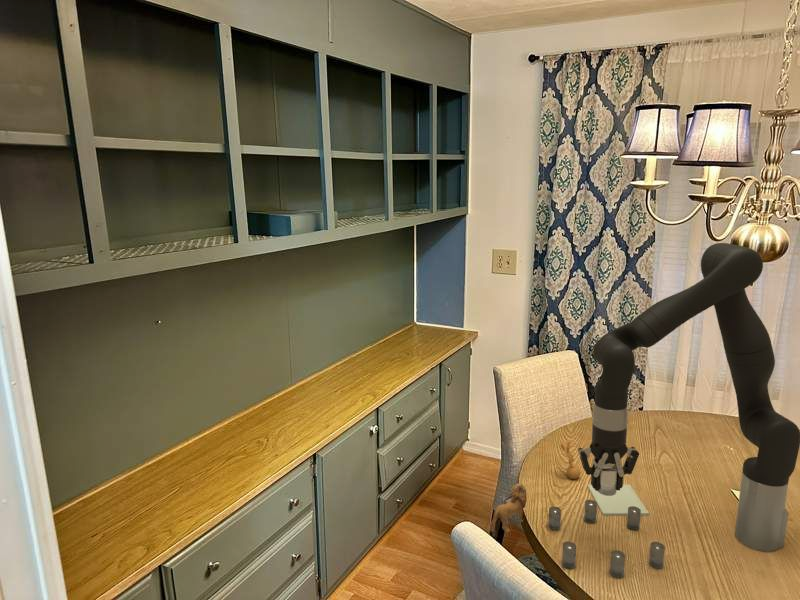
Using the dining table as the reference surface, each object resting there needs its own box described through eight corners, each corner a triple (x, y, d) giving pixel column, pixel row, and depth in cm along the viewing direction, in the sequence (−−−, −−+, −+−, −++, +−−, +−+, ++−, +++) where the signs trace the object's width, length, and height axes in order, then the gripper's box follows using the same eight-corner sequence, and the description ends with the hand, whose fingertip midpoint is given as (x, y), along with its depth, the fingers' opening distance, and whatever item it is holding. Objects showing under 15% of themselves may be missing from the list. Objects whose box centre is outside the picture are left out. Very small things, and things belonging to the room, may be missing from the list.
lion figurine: (512, 507, 150) (513, 478, 148) (530, 514, 147) (531, 484, 145) (484, 534, 139) (485, 503, 137) (503, 543, 136) (503, 510, 134)
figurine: (581, 485, 159) (583, 448, 157) (560, 483, 161) (561, 446, 158) (578, 471, 167) (580, 435, 165) (558, 469, 169) (559, 433, 166)
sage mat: (629, 486, 159) (629, 484, 158) (648, 515, 145) (649, 513, 145) (587, 486, 159) (587, 484, 159) (603, 515, 145) (603, 513, 145)
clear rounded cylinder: (612, 485, 133) (613, 462, 131) (618, 495, 128) (620, 472, 127) (594, 485, 133) (595, 463, 132) (600, 495, 129) (601, 472, 127)
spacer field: (632, 516, 145) (633, 499, 144) (671, 578, 122) (673, 559, 121) (544, 516, 146) (545, 499, 145) (567, 578, 123) (568, 558, 122)
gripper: (634, 415, 130) (630, 480, 134) (574, 416, 131) (571, 480, 135) (647, 429, 123) (643, 497, 127) (583, 430, 124) (580, 498, 127)
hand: (606, 488), depth 131 cm, fingers closed on clear rounded cylinder, 4 cm apart
